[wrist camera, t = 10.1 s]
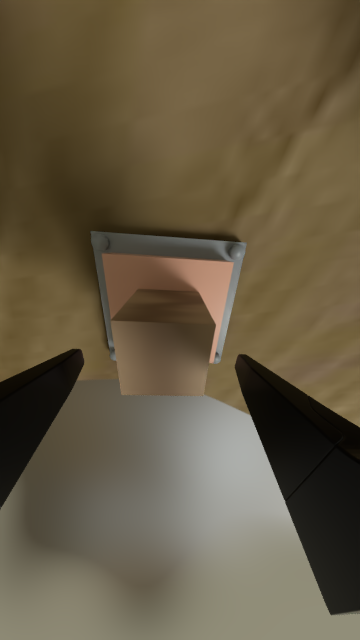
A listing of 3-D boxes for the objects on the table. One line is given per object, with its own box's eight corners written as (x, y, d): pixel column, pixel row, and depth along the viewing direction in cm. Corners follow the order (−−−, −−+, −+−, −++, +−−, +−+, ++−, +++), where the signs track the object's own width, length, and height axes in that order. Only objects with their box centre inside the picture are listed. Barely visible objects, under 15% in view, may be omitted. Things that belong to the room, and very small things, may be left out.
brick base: (242, 243, 14) (258, 242, 11) (217, 356, 20) (224, 374, 17) (96, 232, 13) (76, 228, 11) (113, 353, 19) (103, 370, 16)
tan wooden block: (198, 291, 13) (216, 324, 7) (192, 341, 15) (203, 395, 10) (137, 288, 13) (110, 320, 7) (141, 340, 15) (121, 394, 9)
